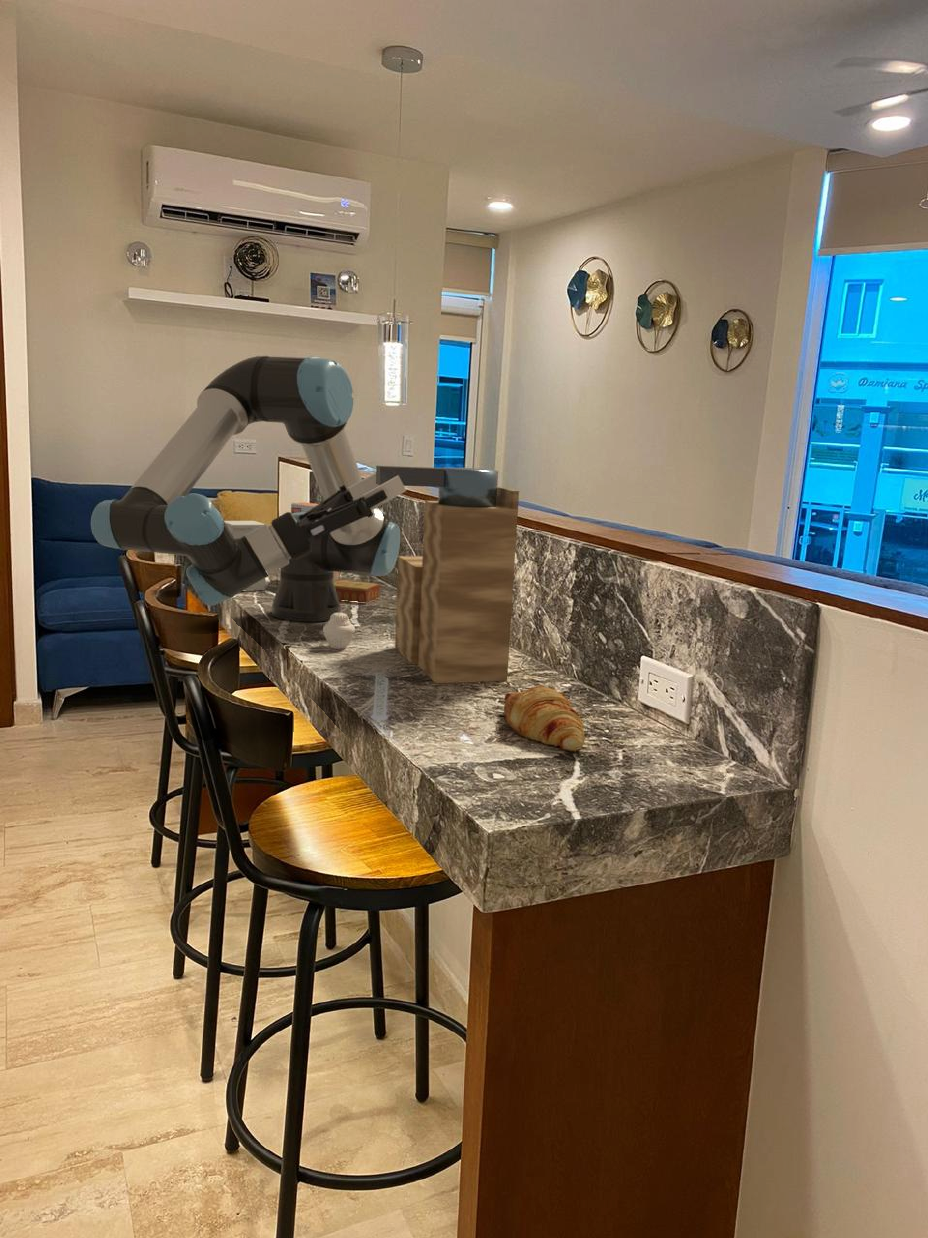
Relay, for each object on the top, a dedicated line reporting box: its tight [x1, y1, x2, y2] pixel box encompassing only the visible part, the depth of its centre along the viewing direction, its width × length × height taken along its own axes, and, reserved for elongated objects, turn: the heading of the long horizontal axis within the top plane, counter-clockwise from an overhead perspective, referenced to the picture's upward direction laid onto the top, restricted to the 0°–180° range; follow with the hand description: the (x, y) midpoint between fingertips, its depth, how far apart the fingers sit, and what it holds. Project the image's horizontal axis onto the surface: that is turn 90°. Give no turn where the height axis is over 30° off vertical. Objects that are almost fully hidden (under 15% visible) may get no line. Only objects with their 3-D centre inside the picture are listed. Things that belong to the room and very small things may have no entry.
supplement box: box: [224, 520, 266, 591], centre depth 234 cm, size 10×9×17 cm
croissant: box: [503, 685, 586, 752], centre depth 137 cm, size 21×10×8 cm, turn 26°
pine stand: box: [394, 485, 520, 684], centre depth 170 cm, size 26×14×33 cm, turn 17°
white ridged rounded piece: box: [322, 612, 356, 650], centre depth 181 cm, size 6×6×7 cm
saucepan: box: [375, 465, 499, 508], centre depth 159 cm, size 10×21×6 cm, turn 107°
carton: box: [333, 579, 381, 603], centre depth 230 cm, size 8×16×4 cm, turn 71°
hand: (393, 479), depth 156 cm, fingers open, 13 cm apart
